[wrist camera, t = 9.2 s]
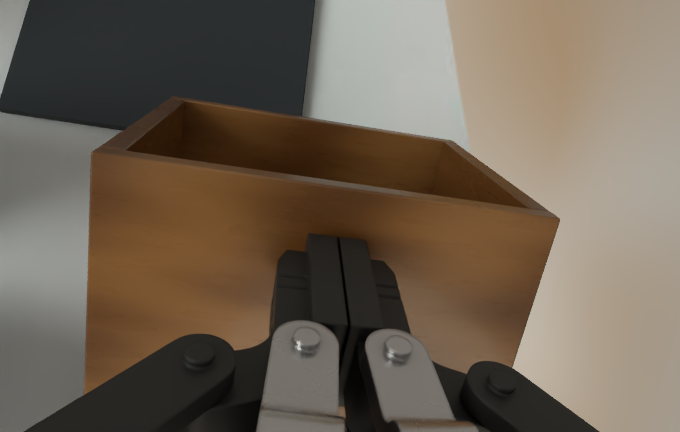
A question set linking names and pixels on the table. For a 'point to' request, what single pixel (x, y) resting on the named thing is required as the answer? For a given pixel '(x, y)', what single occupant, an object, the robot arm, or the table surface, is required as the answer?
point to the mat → (157, 57)
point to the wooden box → (298, 231)
